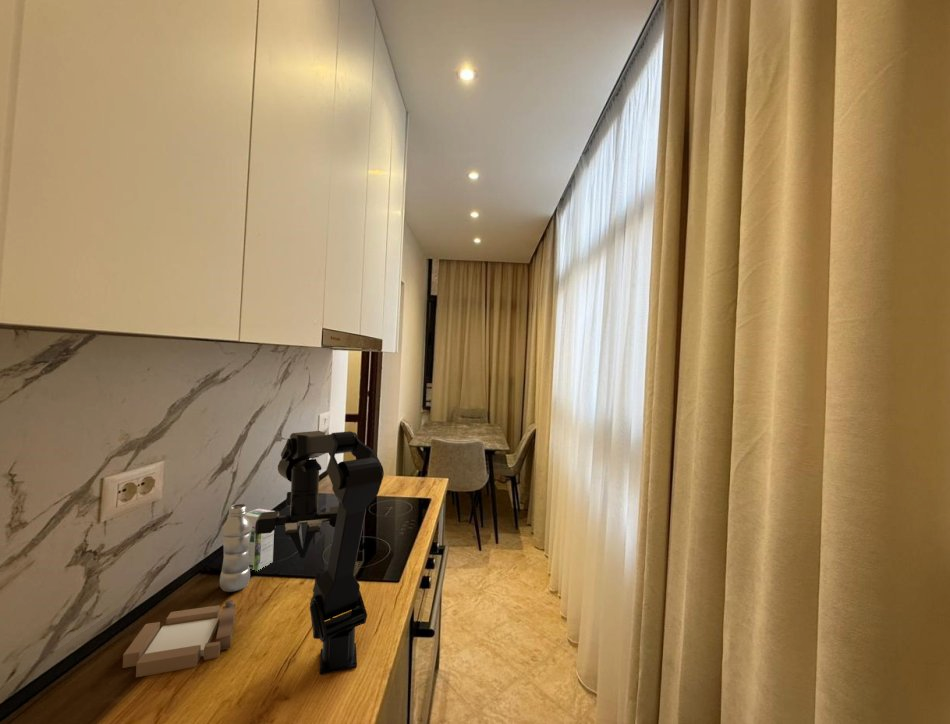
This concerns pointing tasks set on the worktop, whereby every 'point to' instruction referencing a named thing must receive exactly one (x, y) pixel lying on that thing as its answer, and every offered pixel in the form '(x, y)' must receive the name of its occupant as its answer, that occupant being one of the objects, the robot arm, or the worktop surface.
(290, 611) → the worktop surface
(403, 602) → the worktop surface
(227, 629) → the leg
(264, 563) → the syrup box
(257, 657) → the worktop surface
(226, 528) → the silver metal bottle
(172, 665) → the seat
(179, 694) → the worktop surface
